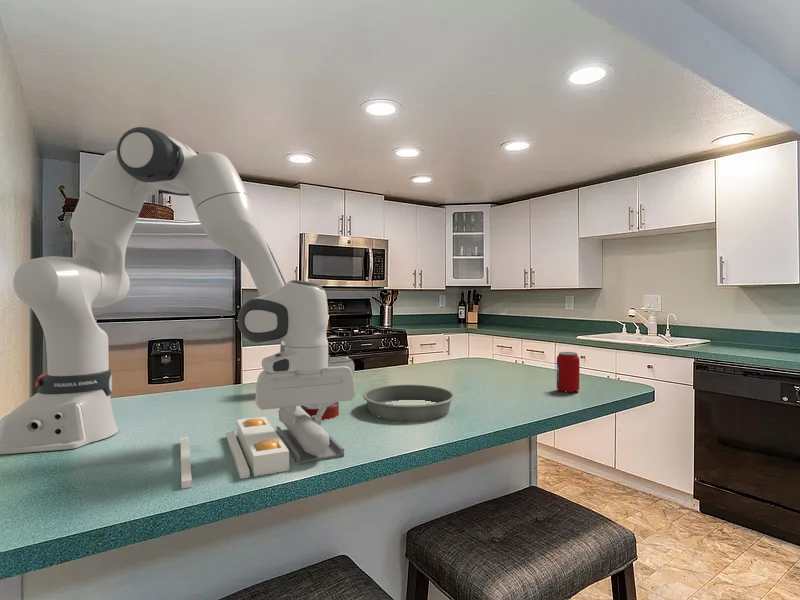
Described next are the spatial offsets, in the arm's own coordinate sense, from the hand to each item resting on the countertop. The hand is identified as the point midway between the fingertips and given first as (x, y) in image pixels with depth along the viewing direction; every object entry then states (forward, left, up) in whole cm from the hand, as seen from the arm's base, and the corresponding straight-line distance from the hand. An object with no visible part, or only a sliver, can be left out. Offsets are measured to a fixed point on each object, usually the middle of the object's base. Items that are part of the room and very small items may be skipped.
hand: (306, 425), depth 96 cm
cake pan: (+32, +16, -4) cm, 36 cm away
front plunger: (-9, -8, -3) cm, 13 cm away
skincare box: (+8, +50, -4) cm, 51 cm away
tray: (0, 0, -4) cm, 4 cm away
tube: (0, 0, -3) cm, 3 cm away
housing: (-15, 0, -4) cm, 16 cm away
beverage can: (+87, +14, -4) cm, 88 cm away
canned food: (+9, +21, -4) cm, 23 cm away
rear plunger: (-9, +8, -3) cm, 13 cm away
